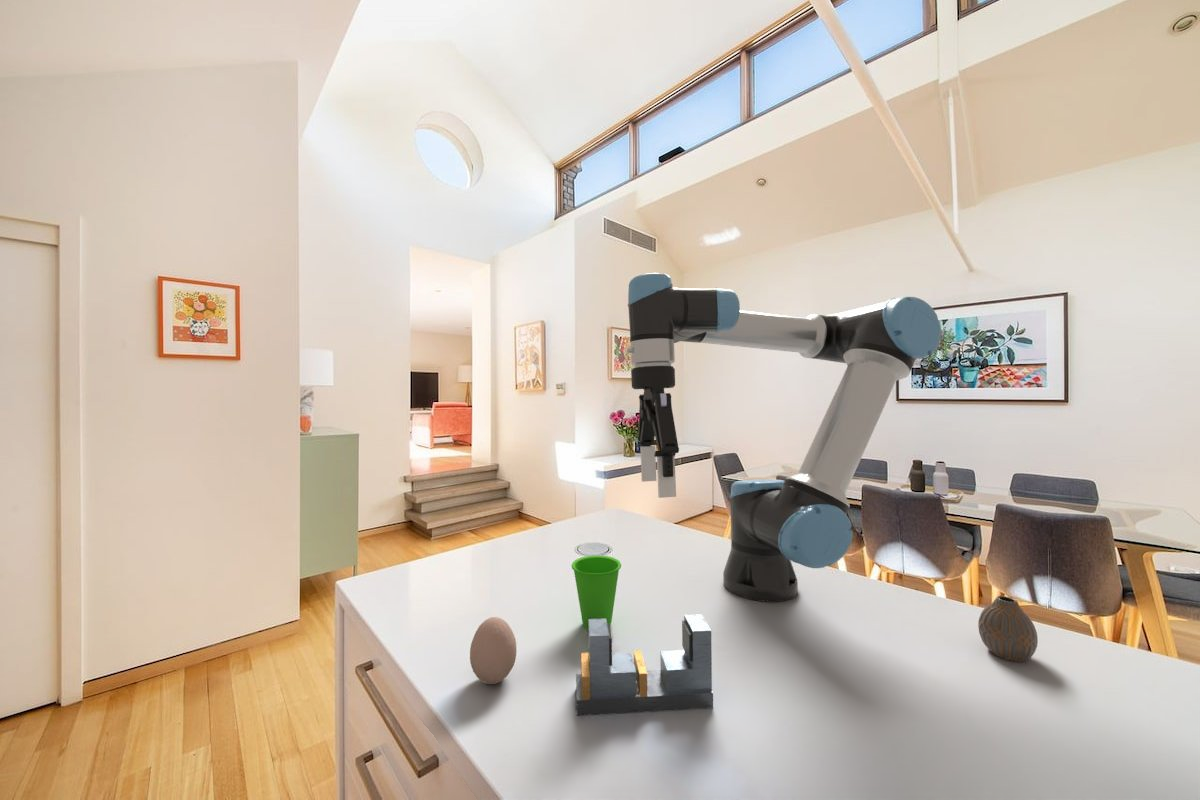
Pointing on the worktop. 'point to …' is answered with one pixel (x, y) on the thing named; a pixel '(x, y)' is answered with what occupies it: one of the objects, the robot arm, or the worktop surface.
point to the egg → (493, 650)
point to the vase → (1007, 630)
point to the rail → (660, 678)
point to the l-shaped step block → (608, 664)
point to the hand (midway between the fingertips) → (657, 488)
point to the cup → (596, 586)
